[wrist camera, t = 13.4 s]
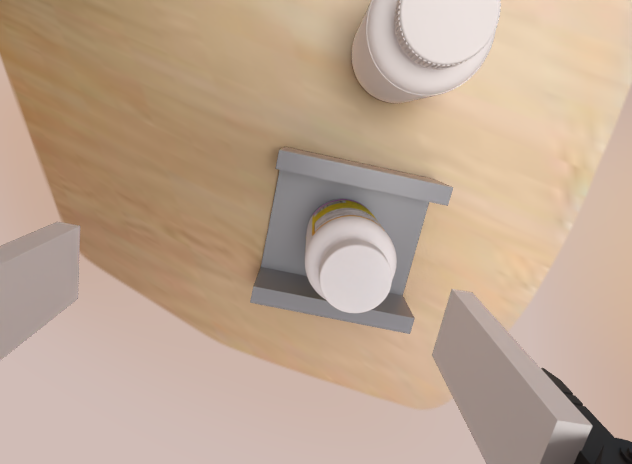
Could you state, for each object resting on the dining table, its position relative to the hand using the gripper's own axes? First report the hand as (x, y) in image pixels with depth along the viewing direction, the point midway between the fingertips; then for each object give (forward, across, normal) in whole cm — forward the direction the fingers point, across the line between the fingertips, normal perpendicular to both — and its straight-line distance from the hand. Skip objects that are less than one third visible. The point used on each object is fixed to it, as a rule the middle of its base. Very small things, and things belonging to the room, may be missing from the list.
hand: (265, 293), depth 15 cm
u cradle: (+24, +6, -4) cm, 25 cm away
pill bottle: (+25, +7, +12) cm, 29 cm away
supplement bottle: (+24, +5, -4) cm, 25 cm away
